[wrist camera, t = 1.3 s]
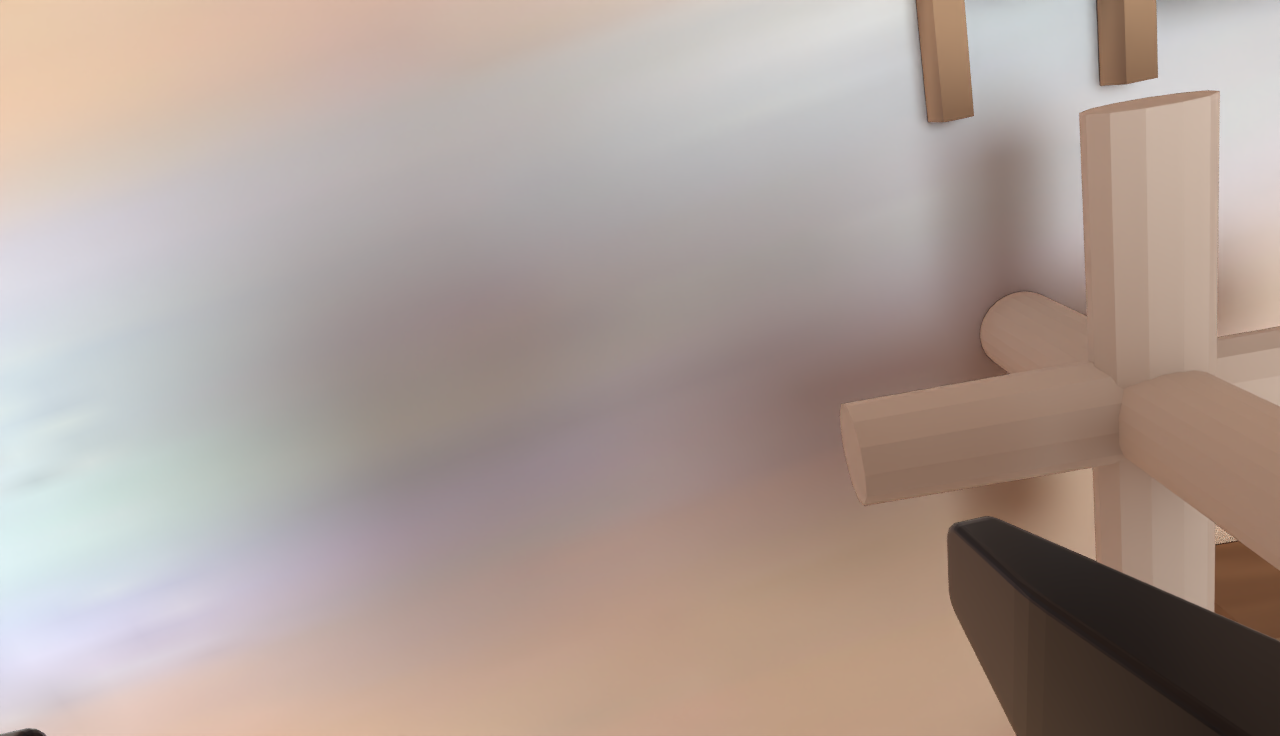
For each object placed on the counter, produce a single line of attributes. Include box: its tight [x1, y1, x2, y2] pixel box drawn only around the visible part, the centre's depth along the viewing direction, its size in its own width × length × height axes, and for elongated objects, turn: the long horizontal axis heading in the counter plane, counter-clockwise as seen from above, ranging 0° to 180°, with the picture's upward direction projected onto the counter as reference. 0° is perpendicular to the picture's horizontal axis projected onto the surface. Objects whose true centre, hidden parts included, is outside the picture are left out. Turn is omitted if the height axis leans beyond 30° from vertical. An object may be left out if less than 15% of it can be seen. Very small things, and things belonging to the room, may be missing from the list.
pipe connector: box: [840, 90, 1280, 612], centre depth 14 cm, size 10×10×10 cm
